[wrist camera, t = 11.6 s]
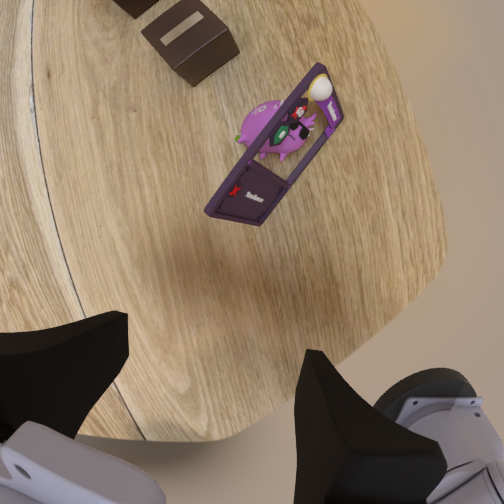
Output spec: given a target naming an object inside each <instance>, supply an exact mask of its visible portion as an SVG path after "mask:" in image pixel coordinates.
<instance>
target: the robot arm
mask: <svg viewBox="0 0 504 504" xmlns="http://www.w3.org/2000/svg"><path fill="white" fill-rule="evenodd" d="M128 356H129V344H128V314H127V313H123V312H119V311H110V312H106V313H102V314H99V315H96V316H92V317H89V318H86V319H83V320H80V321H76V322H73V323H69V324H65V325H62V326H58V327H54V328H49V329H44V330H37V331H29V332H15V333H0V504H166V497H165V494H164V493H163V491H162V489H161V487H160V486H159V484H158V483H157V481H156V480H155V479H153V478H152V477H151V476H149V475H148V474H147V473H146V472H145V471H143V470H142V469H141V468H138V467H137V466H134V465H132V464H130V463H128V462H126V461H124V460H122V459H120V458H117V457H114V456H112V455H109V454H107V453H104V452H101V451H99V450H97V449H94V448H92V447H89V446H87V445H85V444H82V443H80V442H78V441H75V440H74V438H75V436H76V434H77V432H78V430H79V428H80V427H81V425H82V423H83V421H84V420H85V418H86V416H87V415H88V413H89V412H90V410H91V409H92V407H93V406H94V405H95V403H96V402H97V401H98V400H99V398H100V397H101V396H102V395H103V393H104V392H105V391H106V389H107V388H108V387H109V386H110V384H111V383H112V382H113V381H114V379H115V378H116V377H117V375H118V374H119V373H120V371H121V369H122V368H123V366H124V364H125V362H126V360H127V358H128ZM414 401H416V402H415V403H413V402H414ZM482 402H483V398H482V397H413V396H411V397H408V398H407V399H406V400H405V402H404V404H403V406H402V408H401V410H400V413H399V415H398V417H397V419H396V421H395V422H394V421H392V420H390V419H389V418H387V417H386V416H384V415H383V414H381V413H380V412H379V411H377V410H376V409H374V408H373V407H372V406H371V405H369V404H368V403H367V402H366V401H365V400H364V399H362V398H361V397H360V396H359V395H358V394H357V393H356V392H355V391H354V390H353V389H352V387H351V386H349V384H348V383H347V382H346V381H345V380H344V379H343V377H342V376H341V375H340V374H339V373H338V371H337V370H336V369H335V367H334V366H333V365H332V363H331V362H330V361H329V359H328V358H327V357H326V355H325V354H324V353H323V351H319V350H311V349H306V353H305V357H304V361H303V365H302V369H301V372H300V376H299V380H298V383H297V387H296V392H295V405H294V417H295V433H296V449H297V471H296V484H295V494H294V503H293V504H504V447H503V443H502V441H501V439H500V437H499V435H498V434H497V432H496V430H495V429H494V427H493V426H492V424H491V423H490V421H489V419H488V418H487V417H486V415H485V413H484V412H483V410H482V409H481V407H480V406H481V404H482Z"/></svg>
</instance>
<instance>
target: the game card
mask: <svg viewBox="0 0 504 504" xmlns="http://www.w3.org/2000/svg"><path fill="white" fill-rule="evenodd" d="M306 90H308V92H307V98H308V99H307V98H301V96H302V95H303V94H304V93H305V91H306ZM308 100H310V101H316V103H317V104H318V105H319V106H320V108H321V109H322V111H323V112H324V114H325V116H326V118H327V120H328V122H329V125H328V126H327V128H326V129H325V131H324V132H323V133H322V135H321V136H320V137H319V139H318V140H317V141H316V142H315V144H314V145H313V146H312V148H311V149H310V150H309V151H308V153H307V154H306V155H305V157H304V158H303V159H302V161H301V162H300V163H299V164H298V166H297V167H296V168H295V170H294V171H293V172H292V173H291V175H290V176H289V177H288V179H287V180H286V181H284V180H283V179H282V178H280V177H279V176H277V175H276V174H274V173H273V172H271V171H270V170H268V169H267V168H265V167H264V166H262V165H261V164H259V163H258V162H256V161H255V160H253V158H254V157H255V155H256V154H257V153H258V152H260V153H261V154H260V159H263V158H264V157H265V156H266V155H267V154H268V153H280V160H281V161H283V159H284V158H285V157H286V155H287V154H288V153H290V152H293V151H296V150H297V149H299V148H300V147H301V146H302V145H303V144H304V143H305V141H306V139H307V137H309V136H310V135H308V134H309V131H312V130H313V129H315V128H309V126H311V125H313V124H314V123H315V122H312V121H313V120H314V119H315V117H316V113H314V114H313V116H311V117H309V118H307V119H306V118H305V117H304V114H305V112H306V111H307V105H308ZM343 118H344V115H343V112H342V109H341V106H340V103H339V101H338V98H337V95H336V92H335V90H334V87H333V84H332V81H331V79H330V76H329V74H328V71H327V69H326V66H324V65H322V64H321V63H316V64H315V65H314V66H313V67H312V68H311V70H310V71H309V72H308V73H307V74H306V76H305V77H304V78H303V79H302V81H301V82H300V83H299V84H298V85H297V87H296V88H295V89H294V90H293V92H292V93H291V94H290V95H289V97H288V98H287V99H286V100H285V101H284V99H283V100H282V101H280V100H274V101H268V102H265V103H263V104H261V105H259V106H257V107H256V108H254V109H253V110H252V111H251V112H250V113H249V114H248V115H247V116H246V118H245V119H244V121H243V124H242V127H241V134H240V133H239V134H240V135H236V137H235V141H236V142H238V143H242V142H244V143H245V145H246V146H247V147H248V149H247V151H246V152H245V153H244V155H243V156H242V157H241V159H240V160H239V161H238V163H237V164H236V165H235V167H234V168H233V169H232V171H231V172H230V173H229V175H228V176H227V178H226V179H225V180H224V182H223V183H222V184H221V186H220V187H219V189H218V190H217V191H216V193H215V194H214V196H213V197H212V198H211V200H210V201H209V203H208V204H207V205H206V207H205V209H204V212H205V213H206V214H207V215H208V216H209V217H213V218H218V219H224V220H229V221H234V222H239V223H245V224H250V225H255V226H261V225H262V224H263V222H264V221H265V220H266V218H267V217H268V216H269V215H270V213H271V212H272V211H273V209H274V208H275V207H276V205H277V204H278V203H279V202H280V200H281V199H282V198H283V196H284V195H285V194H286V192H287V191H288V190H289V189H290V187H291V186H292V185H293V183H294V182H295V181H296V179H297V178H298V177H299V176H300V174H301V173H302V172H303V170H304V169H305V168H306V167H307V165H308V164H309V163H310V161H311V160H312V159H313V157H314V156H315V155H316V154H317V152H318V151H319V150H320V148H321V147H322V146H323V145H324V143H325V142H326V141H327V139H329V137H330V136H331V134H332V133H333V132H334V131H335V129H336V128H337V127H338V125H339V124H340V123H341V122H342V120H343Z"/></svg>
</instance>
